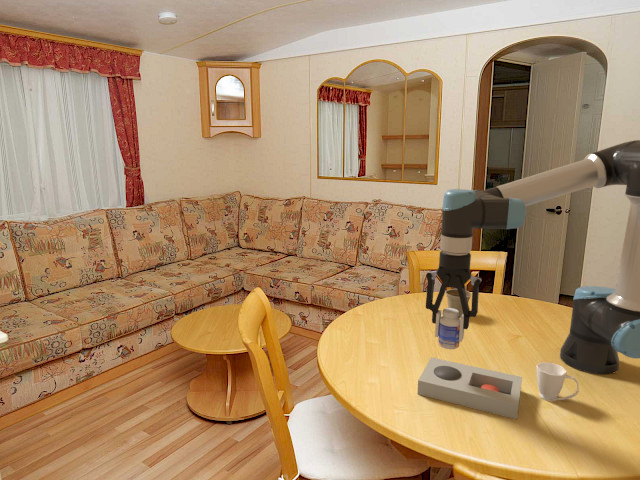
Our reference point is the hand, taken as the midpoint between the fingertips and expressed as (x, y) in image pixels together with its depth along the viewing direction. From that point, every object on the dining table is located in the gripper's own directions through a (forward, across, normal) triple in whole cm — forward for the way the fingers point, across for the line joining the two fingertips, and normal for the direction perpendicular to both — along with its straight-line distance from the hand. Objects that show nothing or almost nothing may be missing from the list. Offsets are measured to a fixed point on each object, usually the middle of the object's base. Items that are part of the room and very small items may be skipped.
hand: (449, 337), depth 118 cm
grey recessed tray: (+14, -6, 0) cm, 16 cm away
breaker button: (+14, -11, 0) cm, 18 cm away
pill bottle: (+3, 0, 0) cm, 3 cm away
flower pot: (+15, +7, -53) cm, 55 cm away
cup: (+15, -26, -7) cm, 31 cm away
